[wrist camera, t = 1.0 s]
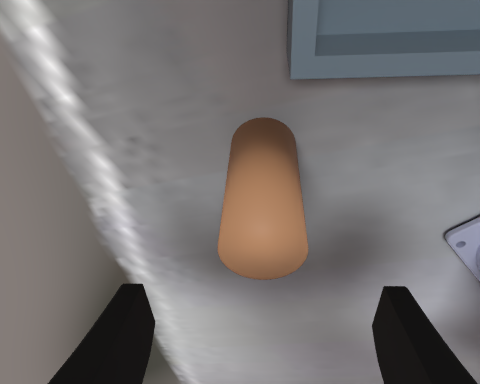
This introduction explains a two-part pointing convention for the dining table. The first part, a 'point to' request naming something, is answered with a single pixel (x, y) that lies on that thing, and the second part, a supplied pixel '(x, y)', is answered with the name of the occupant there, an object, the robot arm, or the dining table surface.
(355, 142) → the dining table surface
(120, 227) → the dining table surface
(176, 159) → the dining table surface
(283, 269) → the peg
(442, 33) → the tray box
